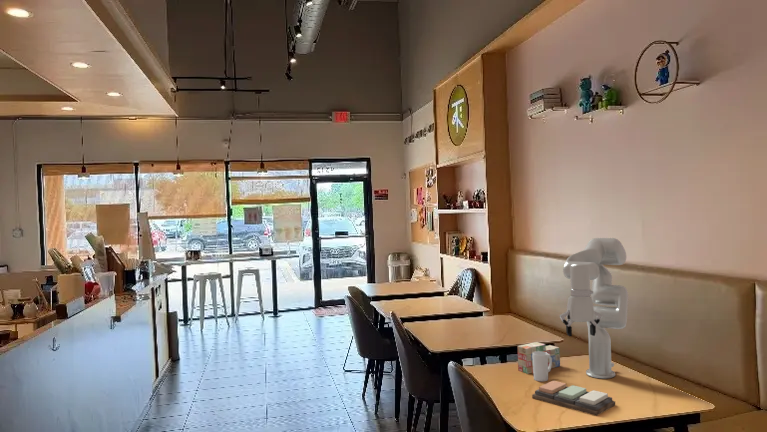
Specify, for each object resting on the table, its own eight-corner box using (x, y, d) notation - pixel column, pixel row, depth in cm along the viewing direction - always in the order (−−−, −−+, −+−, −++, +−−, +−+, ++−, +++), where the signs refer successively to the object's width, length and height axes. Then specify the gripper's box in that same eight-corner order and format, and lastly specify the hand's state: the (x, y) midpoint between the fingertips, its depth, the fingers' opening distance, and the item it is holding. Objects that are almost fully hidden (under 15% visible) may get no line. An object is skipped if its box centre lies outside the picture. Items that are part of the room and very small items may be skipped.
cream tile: (593, 394, 223) (593, 390, 223) (607, 397, 218) (607, 393, 218) (579, 401, 215) (579, 397, 215) (594, 405, 211) (594, 401, 211)
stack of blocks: (551, 363, 276) (550, 338, 276) (560, 366, 271) (559, 341, 270) (517, 370, 266) (517, 345, 266) (526, 374, 261) (526, 348, 260)
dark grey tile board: (551, 388, 239) (551, 382, 239) (615, 405, 218) (615, 397, 218) (532, 398, 229) (532, 390, 229) (596, 415, 208) (596, 408, 208)
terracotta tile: (553, 384, 236) (553, 380, 236) (566, 387, 232) (566, 383, 232) (539, 390, 229) (538, 387, 229) (552, 394, 224) (551, 390, 224)
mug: (540, 382, 248) (539, 356, 247) (530, 378, 254) (529, 352, 253) (557, 378, 252) (556, 352, 252) (547, 374, 258) (546, 349, 258)
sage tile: (572, 389, 229) (572, 385, 229) (586, 392, 225) (586, 388, 225) (558, 395, 222) (558, 392, 222) (572, 399, 218) (572, 395, 218)
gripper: (596, 292, 231) (597, 333, 231) (556, 292, 230) (556, 334, 230) (605, 294, 223) (605, 336, 223) (563, 295, 222) (563, 337, 222)
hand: (581, 335), depth 226 cm, fingers open, 9 cm apart
